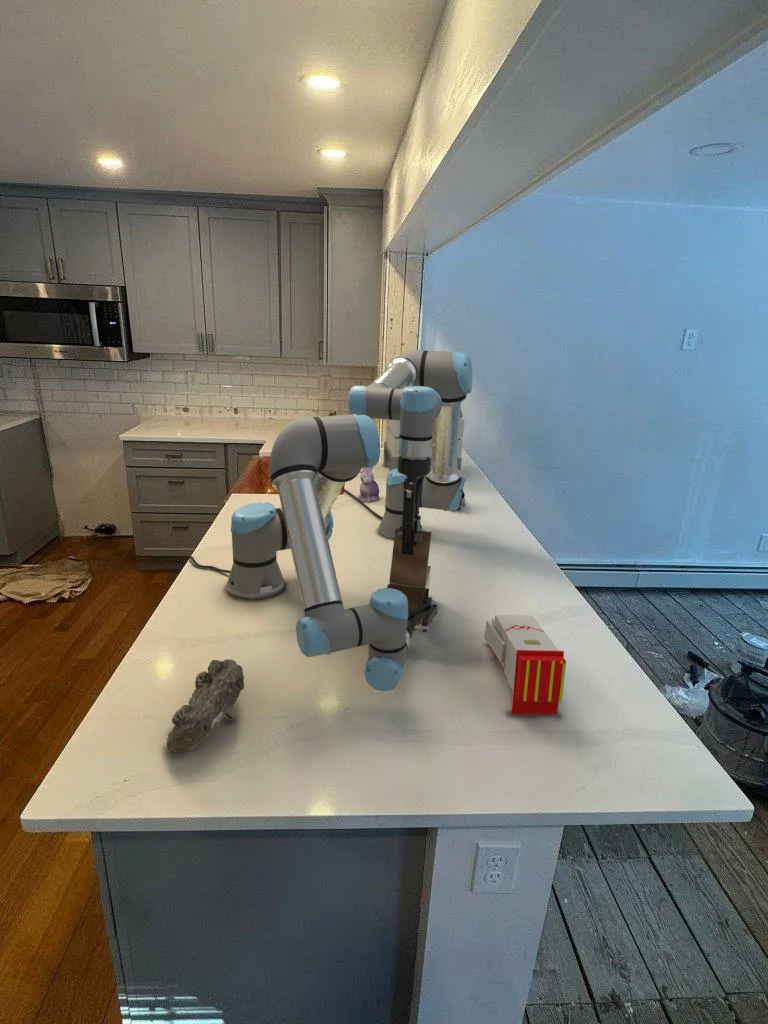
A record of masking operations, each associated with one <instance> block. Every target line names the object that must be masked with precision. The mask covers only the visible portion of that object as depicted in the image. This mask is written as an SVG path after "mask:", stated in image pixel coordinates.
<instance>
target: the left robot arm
mask: <svg viewBox="0 0 768 1024" xmlns="http://www.w3.org/2000/svg"><path fill="white" fill-rule="evenodd" d="M380 441H381V440H380V434H379V432H378V428H377V425H376V423H375V421H374V420H373V418H370V417H368V416H367V415H355V414H353V415H351V414H342V415H326V416H325V415H321V416H302V417H299V418H296V419H294V420H292V421H290V422H289V423H288V424H287V425H286V426H284V427H283V429H282V430H281V431H280V432H279V434H278V435H277V437H276V439H275V440H274V443H273V445H272V449H271V452H270V455H269V465H268V468H269V469H268V470H269V477H270V483H271V487H272V488H273V489H274V490H277V491H278V497H279V500H280V506H281V507H275V505H274V504H272V503H270V502H252V503H248V504H245V505H243V506H240V507H239V508H237V509H236V510H234V511H233V513H232V515H231V519H230V521H231V522H230V533H231V545H232V547H231V548H232V565H231V568H230V570H228V569H222V568H218V567H216V566H213V565H205V564H204V565H203V564H200V563H198V561H196V559H195V558H194V557H193V556H192V555H188V556H187V557H186V559H187V560H190V559H191V561H192V563H193V564H194V565H195V566H196V567H198V568H201V569H210V570H211V569H212V570H215V571H217V572H220V573H226V574H229V575H228V579H227V582H226V584H227V591H228V593H229V594H230V595H231V596H233V597H235V598H238V599H243V600H250V601H251V600H252V601H253V600H263V599H267V598H271V597H273V596H276V595H277V594H280V592H282V590H283V589H284V588H285V587H284V586H285V582H284V581H285V580H284V576H283V573H282V571H281V568H280V565H279V563H278V559H277V553H278V552H279V551H280V552H281V551H286V550H290V552H291V556H292V561H293V565H294V570H295V575H296V580H297V585H298V588H299V594H300V598H301V603H302V607H303V612H304V616H303V617H300V618H299V619H297V621H296V623H295V633H296V634H295V635H296V637H295V638H296V642H297V646H298V648H299V650H300V652H301V653H302V655H303V656H305V657H308V658H313V657H319V656H323V655H327V656H328V655H331V654H334V653H337V652H341V651H345V650H349V649H353V648H357V647H362V646H366V645H368V655H367V660H366V662H365V665H364V671H363V675H364V679H365V682H366V683H367V684H368V686H369V687H371V688H372V689H374V690H377V691H379V692H390V691H393V690H395V689H396V688H397V687H398V686H399V685H400V684H401V680H402V677H403V676H404V669H405V665H406V661H407V656H408V653H409V650H410V646H411V641H412V638H413V634H414V632H415V631H416V630H421V632H422V633H424V634H426V633H428V631H429V626H430V625H431V624H432V622H433V621H434V620H435V618H436V616H437V614H438V608H439V606H438V603H432V602H433V598H432V597H430V588H429V589H426V592H425V595H424V599H423V604H422V605H421V606H419V607H418V608H416V609H415V610H413V611H409V612H408V600H407V597H406V596H405V595H404V594H403V593H402V592H401V591H399V590H396V589H391V588H389V584H390V583H388V584H387V587H384V588H383V587H382V588H379V589H377V590H376V591H373V592H372V593H371V594H370V598H369V601H368V604H362V605H359V606H353V607H349V608H344V604H343V599H342V595H341V590H340V586H339V581H338V577H337V573H336V568H335V564H334V560H333V556H332V552H331V551H332V550H331V546H330V543H329V541H330V539H331V537H332V535H333V529H334V517H333V512H332V511H331V509H332V507H333V505H334V503H335V502H336V500H337V499H338V496H339V495H340V493H341V491H343V490H342V488H344V486H345V485H346V483H348V482H351V481H352V480H354V479H355V478H357V476H358V475H359V474H360V472H361V470H362V468H365V467H367V468H370V467H373V468H374V467H376V466H377V465H378V463H379V460H380V457H381V443H380ZM422 617H423V619H421V618H422ZM419 619H421V621H419ZM418 621H419V622H418Z"/></svg>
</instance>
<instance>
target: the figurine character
mask: <svg viewBox="0 0 768 1024" xmlns="http://www.w3.org/2000/svg"><path fill="white" fill-rule="evenodd" d="M465 496H466V494H465V492H464V490H463V492H462V496H461V500H460V504H459V508H458V509H457V510H458V511H461V510H462V509H461V508H465V505H466V497H465Z"/></svg>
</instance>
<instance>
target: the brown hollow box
mask: <svg viewBox="0 0 768 1024" xmlns="http://www.w3.org/2000/svg"><path fill="white" fill-rule="evenodd" d="M431 568H432V566H431V565H428V569H427V578H426V586H418V585H410V584H401V583H393V582H389V583H388V584H389V588H391V589H396V590H399V591H401V592H402V593H403V594H404V595H405V596H406V597H407V600H408V612H409V611H413V610H415V609H416V608H418V607H419V606H421V605H422V604H423V599H424V595H425V592H426V589H429V590H430V582H431V581H430V580H431ZM421 619H423V617H422V618H421ZM421 619H419V620H418V621H419V622H420V621H421Z"/></svg>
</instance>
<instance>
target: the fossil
mask: <svg viewBox="0 0 768 1024" xmlns="http://www.w3.org/2000/svg"><path fill="white" fill-rule="evenodd" d="M243 670H244V669H243V667H242V665H240V664H237V662H236V661H235V660H234V659H232V658H231V659H227V658H226V659H224V660H223V661H222V660H217V659H212V660H211V661H210V663H209V665H208V666H207V671H201V672H199V673H198V674H197V675H196V676H195V680H194V684H195V685H194V687H195V689H194V690H193V693H192V694H191V697H190V698H189V700H188V704H184V705H182V706H181V707H180V709H177V710H176V711H175V713H174V715H173V716H172V718H171V723H172V724H173V727H172V730H171V731H170V732H168V734H167V738H166V741H167V742H166V745H167V749H168V750H169V751H173V752H174V753H176V754H178V753H182V752H188V751H189V752H192V751H193V750H195V748H196V747H197V746H199V744H200V743H201V742H203V741H204V740H205V739H206V738H207V737H208V736H209V735H210V734H211V733H212V732H214V730H215V729H217V727H218V726H219V724H220V722H221V721H222V720H223V719H224V718H225V716H226V717H227V719H229V720H233V717H232V715H230V714H229V710H230V709H231V708H234V706H235V704H236V703H237V702H238V699H239V697H240V695H241V693H242V691H243V690H245V689H244V688H245V675H244V671H243Z"/></svg>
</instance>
